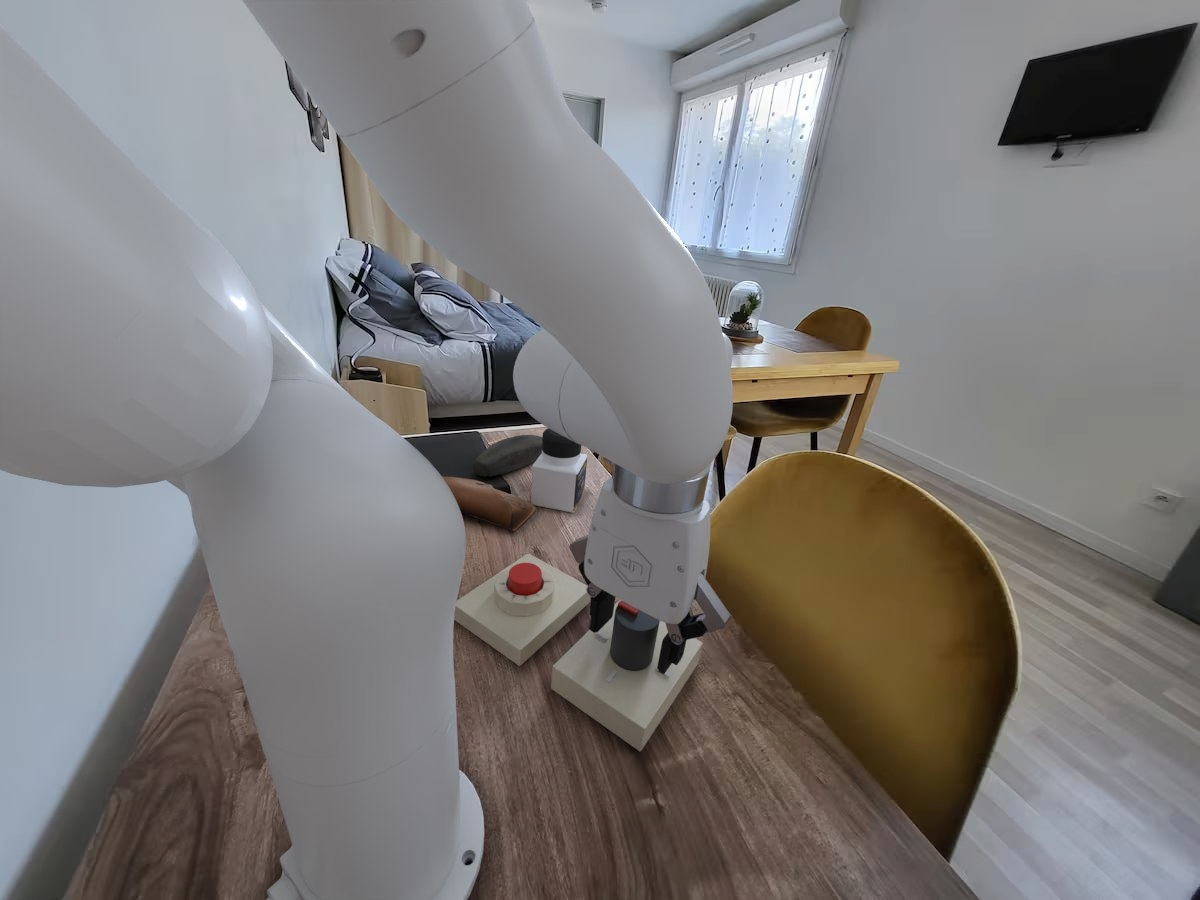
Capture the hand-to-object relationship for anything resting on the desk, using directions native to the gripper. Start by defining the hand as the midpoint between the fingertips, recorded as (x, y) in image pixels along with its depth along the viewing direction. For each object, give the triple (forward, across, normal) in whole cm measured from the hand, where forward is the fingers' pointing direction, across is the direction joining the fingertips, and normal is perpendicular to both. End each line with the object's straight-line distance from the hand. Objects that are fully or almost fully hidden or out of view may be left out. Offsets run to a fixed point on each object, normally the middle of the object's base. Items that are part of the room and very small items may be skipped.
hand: (633, 641), depth 47 cm
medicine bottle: (+5, -27, +22) cm, 35 cm away
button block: (+5, -14, 0) cm, 15 cm away
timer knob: (+1, 0, 0) cm, 1 cm away
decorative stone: (+5, -41, +26) cm, 49 cm away
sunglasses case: (+5, -35, +11) cm, 37 cm away
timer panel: (+5, 0, 0) cm, 5 cm away
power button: (+1, -14, 0) cm, 14 cm away
